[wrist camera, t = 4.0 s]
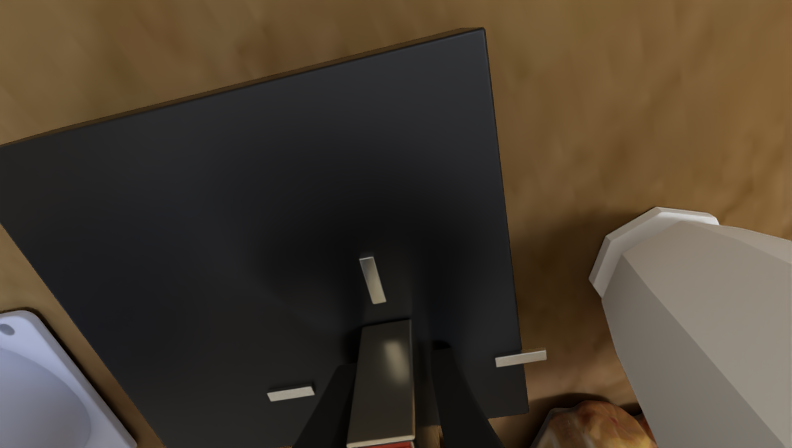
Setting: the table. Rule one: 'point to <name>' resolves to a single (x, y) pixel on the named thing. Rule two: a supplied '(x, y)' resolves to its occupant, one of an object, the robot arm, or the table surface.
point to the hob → (280, 237)
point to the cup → (702, 327)
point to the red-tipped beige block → (391, 391)
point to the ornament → (594, 428)
